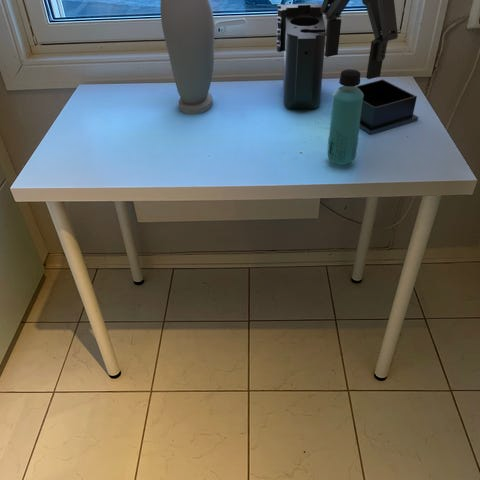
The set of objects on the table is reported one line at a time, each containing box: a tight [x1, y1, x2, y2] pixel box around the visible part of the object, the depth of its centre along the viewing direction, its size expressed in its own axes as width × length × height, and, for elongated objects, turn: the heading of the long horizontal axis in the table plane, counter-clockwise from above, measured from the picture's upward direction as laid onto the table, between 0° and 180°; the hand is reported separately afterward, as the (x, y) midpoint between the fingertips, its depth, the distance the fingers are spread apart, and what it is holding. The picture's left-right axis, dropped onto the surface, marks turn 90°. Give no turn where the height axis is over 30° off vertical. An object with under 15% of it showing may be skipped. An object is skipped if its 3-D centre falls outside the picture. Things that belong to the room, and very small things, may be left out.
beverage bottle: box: [327, 69, 364, 165], centre depth 111 cm, size 6×7×20 cm
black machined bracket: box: [276, 3, 326, 110], centre depth 136 cm, size 12×21×22 cm, turn 177°
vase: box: [159, 0, 215, 115], centre depth 130 cm, size 13×13×35 cm
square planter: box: [355, 78, 419, 136], centre depth 132 cm, size 15×15×6 cm
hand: (351, 66), depth 103 cm, fingers open, 13 cm apart
